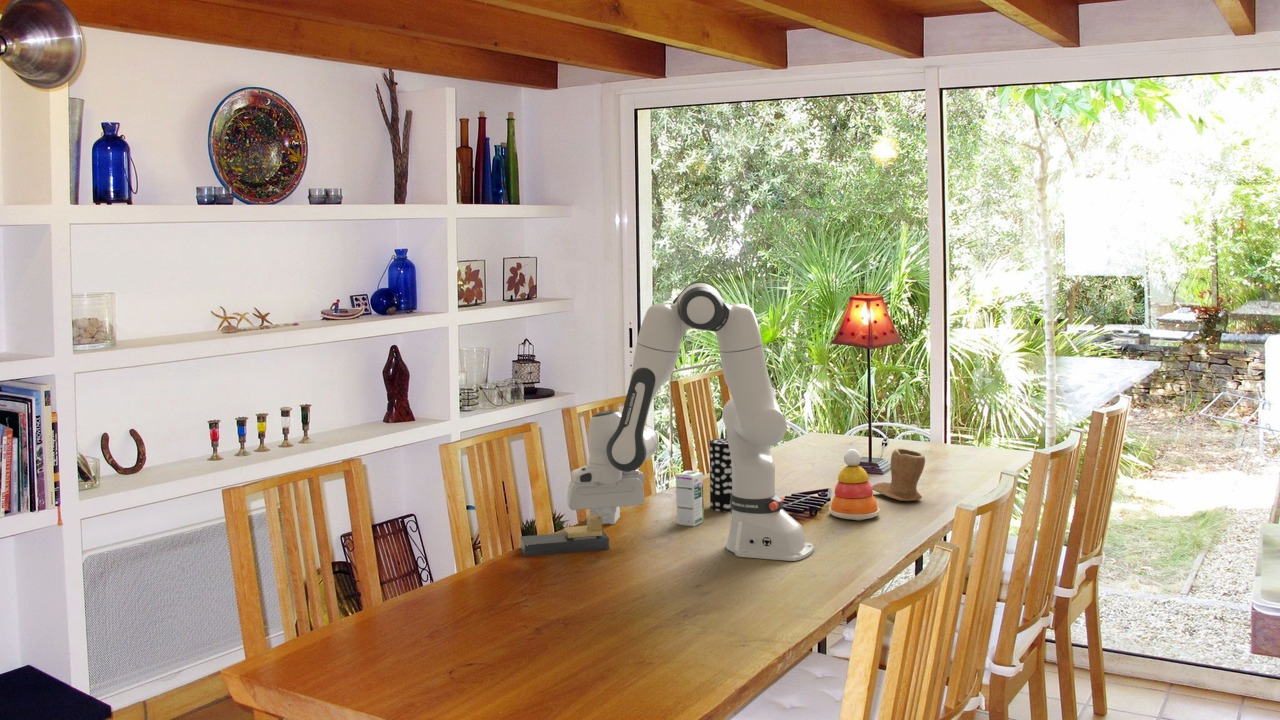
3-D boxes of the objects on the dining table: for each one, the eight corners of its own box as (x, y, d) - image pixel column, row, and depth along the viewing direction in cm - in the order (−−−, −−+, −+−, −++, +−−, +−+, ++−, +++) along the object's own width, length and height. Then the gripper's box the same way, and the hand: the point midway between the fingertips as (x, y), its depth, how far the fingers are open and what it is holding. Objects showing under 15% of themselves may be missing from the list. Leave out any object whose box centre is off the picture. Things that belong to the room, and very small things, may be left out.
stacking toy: (888, 514, 316) (889, 448, 314) (864, 525, 306) (864, 456, 303) (844, 507, 326) (845, 442, 323) (819, 517, 315) (819, 450, 312)
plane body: (602, 540, 294) (602, 528, 294) (609, 549, 287) (608, 537, 286) (520, 547, 289) (520, 535, 289) (524, 556, 282) (524, 544, 281)
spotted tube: (743, 506, 327) (743, 440, 325) (730, 513, 320) (729, 445, 318) (718, 503, 332) (718, 437, 329) (705, 509, 325) (704, 442, 322)
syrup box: (694, 527, 307) (694, 475, 305) (676, 524, 310) (675, 473, 308) (704, 522, 311) (703, 471, 310) (686, 519, 314) (685, 469, 313)
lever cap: (597, 529, 293) (597, 513, 292) (602, 535, 287) (602, 519, 286) (564, 531, 291) (563, 516, 290) (568, 538, 285) (567, 522, 284)
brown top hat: (932, 501, 330) (933, 452, 329) (898, 505, 326) (899, 455, 324) (902, 490, 344) (903, 443, 343) (870, 494, 340) (870, 446, 338)
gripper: (641, 467, 294) (641, 517, 295) (565, 471, 289) (566, 523, 291) (647, 472, 288) (647, 523, 289) (569, 477, 283) (570, 529, 285)
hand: (606, 523), depth 290 cm, fingers closed
